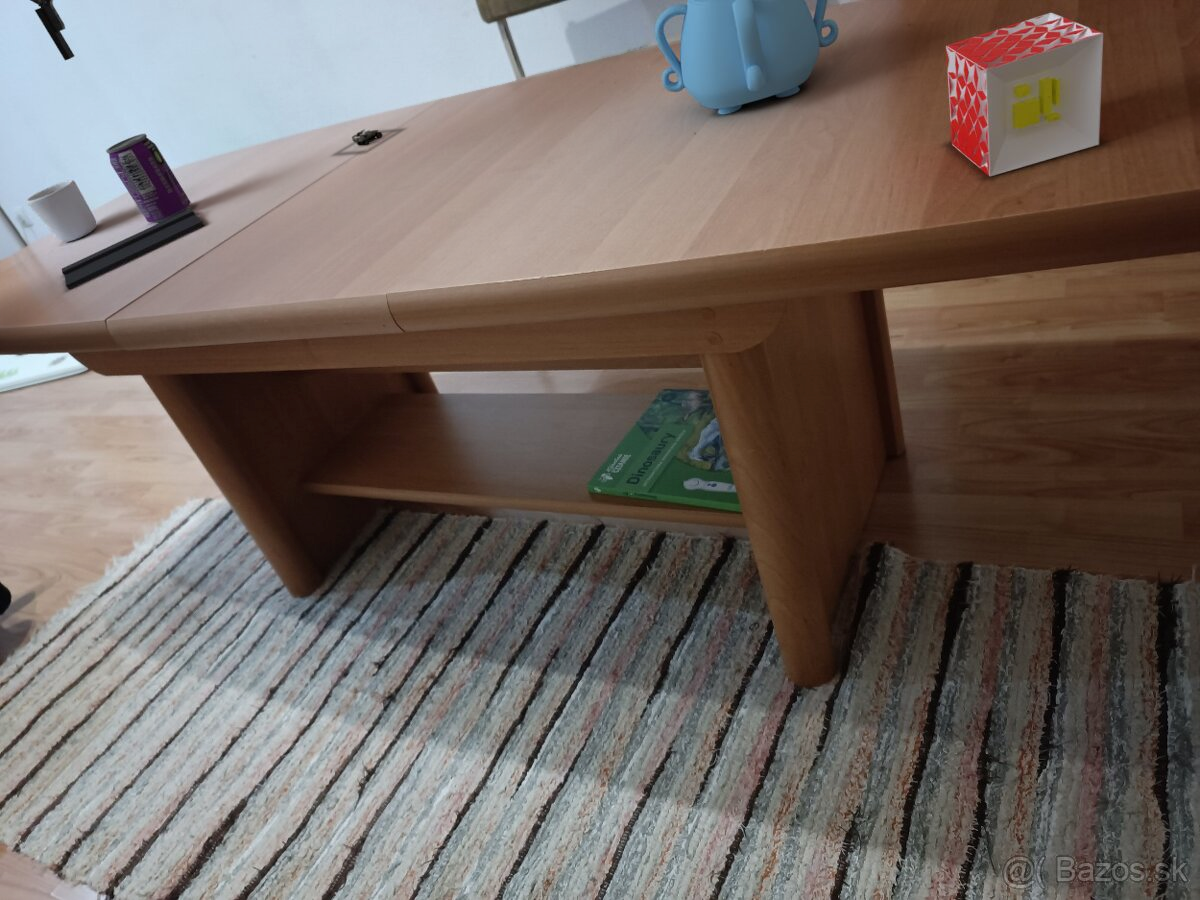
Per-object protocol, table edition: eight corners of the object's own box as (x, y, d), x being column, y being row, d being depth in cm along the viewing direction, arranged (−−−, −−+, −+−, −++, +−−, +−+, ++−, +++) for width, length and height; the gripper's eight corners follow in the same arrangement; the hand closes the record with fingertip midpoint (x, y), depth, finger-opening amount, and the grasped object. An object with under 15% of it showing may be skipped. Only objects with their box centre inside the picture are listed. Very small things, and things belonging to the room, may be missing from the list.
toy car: (383, 136, 136) (377, 123, 135) (364, 147, 134) (358, 134, 133) (373, 137, 138) (367, 124, 137) (354, 147, 136) (348, 135, 135)
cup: (66, 232, 151) (36, 189, 147) (110, 214, 152) (81, 171, 147) (52, 251, 142) (19, 206, 138) (99, 232, 143) (67, 187, 138)
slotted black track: (69, 290, 120) (63, 282, 119) (66, 273, 128) (61, 266, 127) (204, 225, 126) (199, 218, 125) (194, 214, 133) (189, 206, 133)
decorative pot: (657, 118, 101) (624, -6, 94) (755, 63, 107) (732, -58, 99) (753, 128, 89) (725, -14, 81) (859, 65, 94) (842, -74, 86)
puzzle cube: (989, 176, 65) (985, 69, 61) (951, 145, 72) (945, 45, 67) (1100, 144, 64) (1104, 32, 60) (1051, 114, 70) (1052, 12, 66)
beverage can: (201, 204, 137) (157, 130, 130) (166, 225, 133) (118, 150, 126) (177, 206, 141) (132, 134, 134) (141, 227, 136) (94, 154, 130)
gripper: (16, -132, 111) (114, 41, 123) (-176, -67, 109) (-57, 102, 121) (-1, -135, 105) (104, 47, 117) (-205, -66, 103) (-77, 112, 115)
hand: (22, 75), depth 119 cm, fingers open, 13 cm apart
